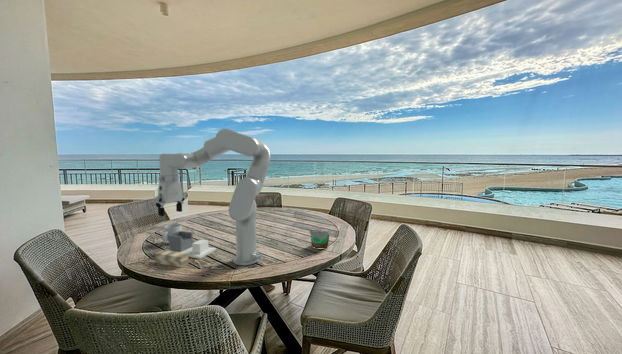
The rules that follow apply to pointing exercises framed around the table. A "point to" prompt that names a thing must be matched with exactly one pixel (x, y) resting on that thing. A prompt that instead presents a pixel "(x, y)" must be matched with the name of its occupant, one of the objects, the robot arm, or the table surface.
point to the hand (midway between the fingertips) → (170, 213)
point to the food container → (319, 238)
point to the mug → (170, 231)
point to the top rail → (171, 258)
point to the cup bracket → (188, 245)
